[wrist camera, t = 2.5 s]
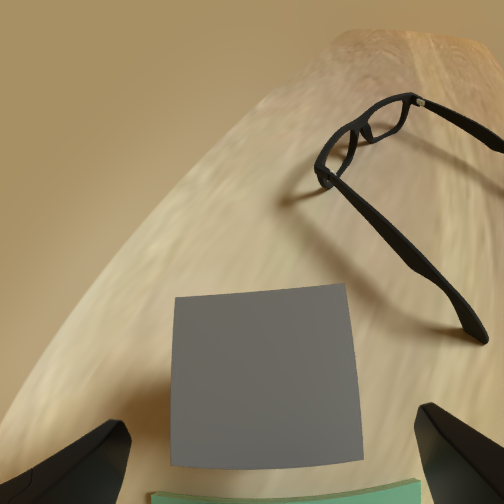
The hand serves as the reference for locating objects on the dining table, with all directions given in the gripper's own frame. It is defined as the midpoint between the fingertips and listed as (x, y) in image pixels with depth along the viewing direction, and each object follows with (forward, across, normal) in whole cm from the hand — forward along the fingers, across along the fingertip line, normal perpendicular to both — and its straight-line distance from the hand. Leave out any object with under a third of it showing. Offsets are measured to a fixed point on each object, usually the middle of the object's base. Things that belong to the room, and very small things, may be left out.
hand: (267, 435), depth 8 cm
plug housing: (+8, 0, +6) cm, 10 cm away
